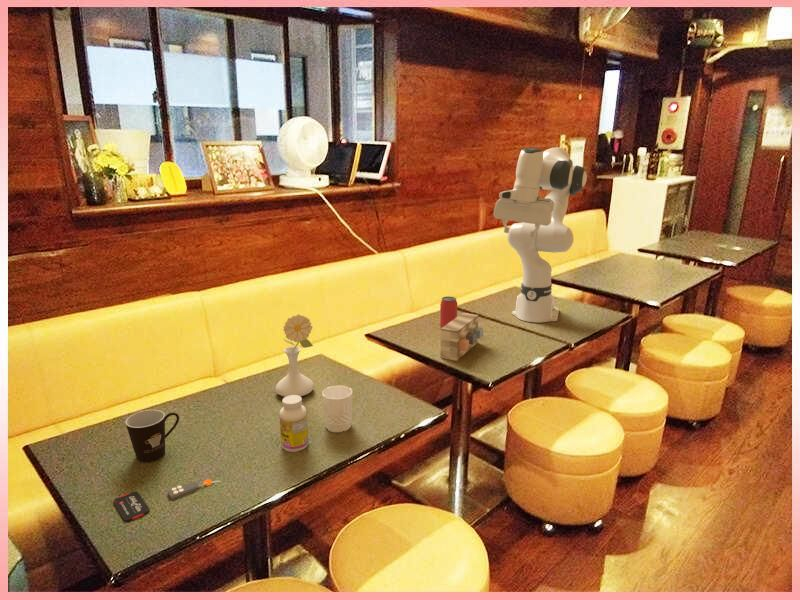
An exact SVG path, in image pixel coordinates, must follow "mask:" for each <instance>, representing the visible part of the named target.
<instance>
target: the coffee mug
mask: <svg viewBox="0 0 800 600" xmlns="http://www.w3.org/2000/svg"><path fill="white" fill-rule="evenodd" d="M171 416H175V417H176V421H175V422H174V424H173V425H172V427H171V428H170V430H168V432H167V433H166V420H168V418H169V417H171ZM179 421H180V416H179V414H178V413H176V412H169V413H167V414H166V413H165V412H164V411H162V410H160V409H145V410H141V411H137V412H135V413H133V414H131V415H130V416H128V417H127V418H125V422H124V423H125V427H126V430H127V432H128V436H129V438H130V443H131V445H132V449H133V451H134V453H135V454H134V455H135V457H136V460H137V462H139V463H141V464H142V463H143V464H145V463H153V462H156V461H158V460H160V459H162V458H163V457H164V456H165V455H166V438H168V437H169V436H170V435H171V433H173V431H174V430H175V429H176V427H177V425H178V423H179Z"/></svg>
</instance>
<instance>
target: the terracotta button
mask: <svg viewBox="0 0 800 600" xmlns="http://www.w3.org/2000/svg"><path fill="white" fill-rule="evenodd" d="M468 348H469V340H467V339H460V340H459V341H458V350H462V351H466V350H467V349H468Z"/></svg>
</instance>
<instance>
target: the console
mask: <svg viewBox="0 0 800 600" xmlns="http://www.w3.org/2000/svg"><path fill="white" fill-rule="evenodd" d="M475 327H479V314H475V313H474V314H473V313H467V312H462V313H461V314H459V315H457V317H456V318H455V319H454V320H452V321H451V322H449V323H448V324H447V325H445V326H444V327H442V328H441V327H440V358H441V359H445V360H450V361H456V362H458V361H459V359H460V358H461V357H463V356H464V355H465V354H466V353H468V352H469V350H471V349H472V348H473V347H474V346H475V345H477V344H478V342H479V341H478V338H476V342H475V343H474V344H473V345H471V344H469V348H468V349H467V350H466V351H462V350H458V341H459V340H460V339H466V335H467V334H468V333H473V329H474V328H475Z"/></svg>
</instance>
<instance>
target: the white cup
mask: <svg viewBox="0 0 800 600" xmlns="http://www.w3.org/2000/svg"><path fill="white" fill-rule="evenodd" d="M321 397H322V408H323V415H324V419H325V420H324V422H325V428H326V430H327V429H328V430H327V431H329V432H331V433H343V431H344V432H346V431H348V430H350V428H351V427H352V417H353V389H352V388H351V387H350V386H346V385H341V384H340V385H331V386H328V387H326V388H324V389H322V392H321Z"/></svg>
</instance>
